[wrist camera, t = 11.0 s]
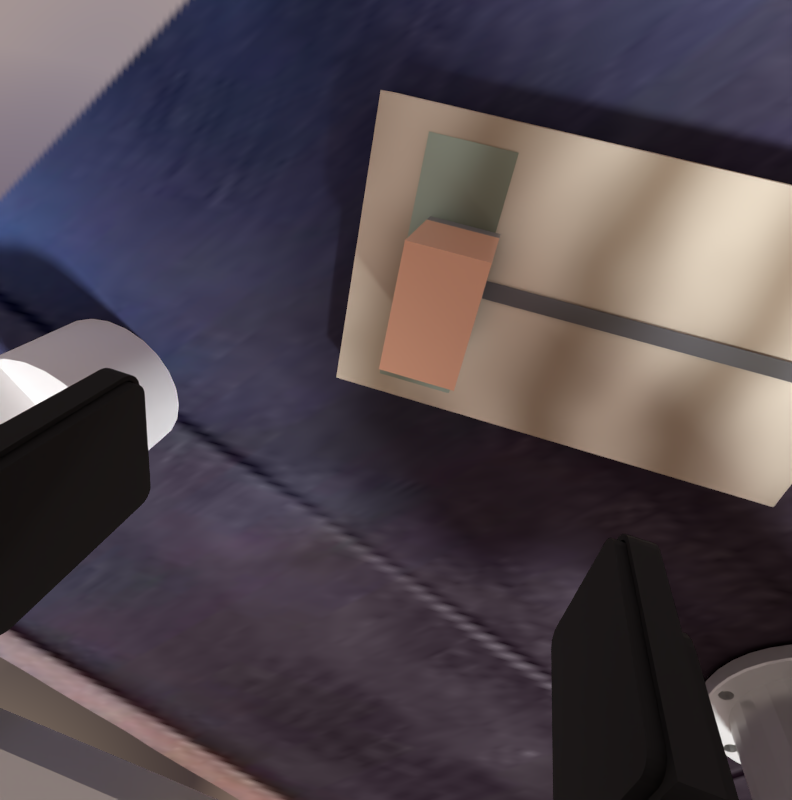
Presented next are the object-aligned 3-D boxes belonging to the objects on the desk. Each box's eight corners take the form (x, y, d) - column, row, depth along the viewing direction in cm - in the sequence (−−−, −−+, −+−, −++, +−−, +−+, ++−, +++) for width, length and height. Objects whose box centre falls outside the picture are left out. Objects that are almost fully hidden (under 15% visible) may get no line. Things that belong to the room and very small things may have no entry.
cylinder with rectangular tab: (205, 412, 33) (54, 548, 22) (123, 460, 37) (-36, 594, 26) (105, 292, 30) (-117, 383, 20) (29, 358, 34) (-189, 462, 24)
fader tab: (500, 234, 21) (491, 262, 17) (468, 343, 24) (453, 390, 20) (430, 216, 21) (404, 240, 17) (405, 325, 24) (378, 369, 20)
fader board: (950, 221, 19) (992, 232, 18) (758, 481, 26) (774, 508, 24) (393, 91, 22) (379, 89, 20) (348, 361, 28) (335, 378, 27)
